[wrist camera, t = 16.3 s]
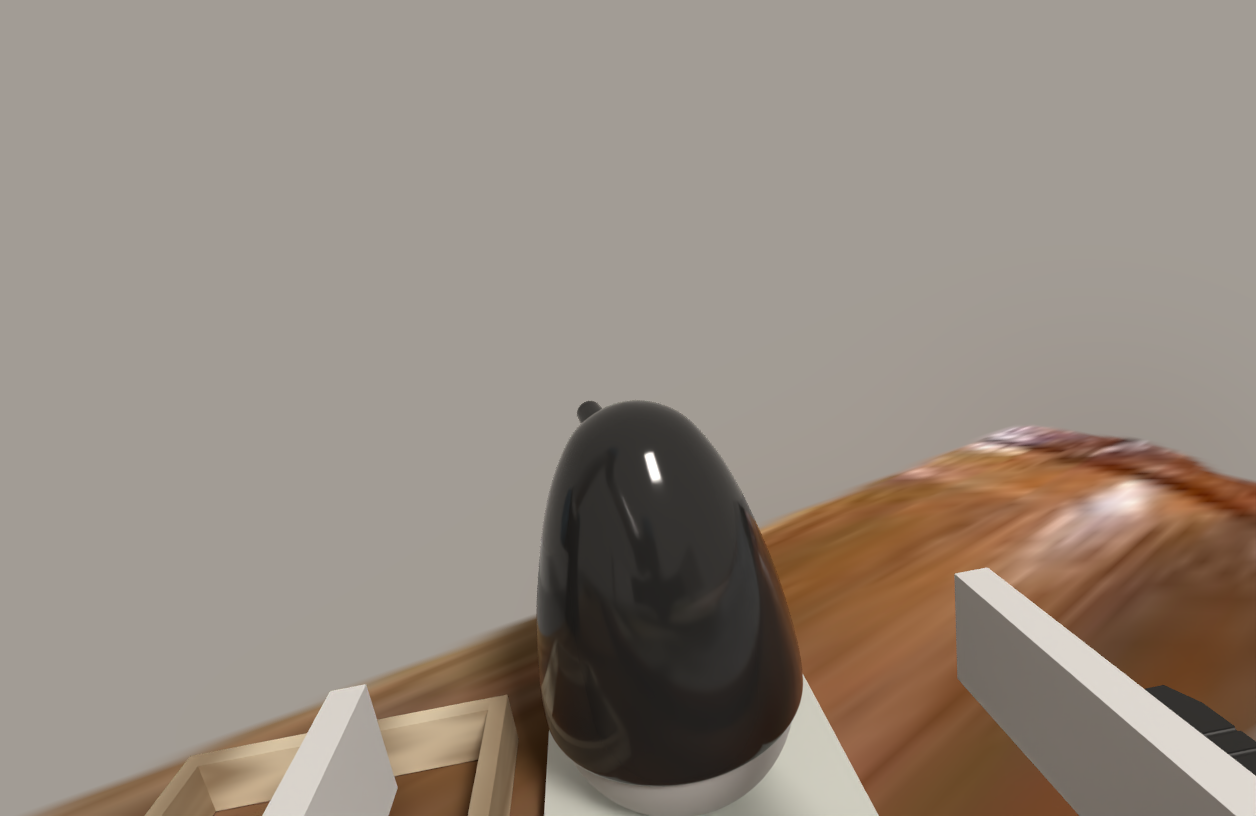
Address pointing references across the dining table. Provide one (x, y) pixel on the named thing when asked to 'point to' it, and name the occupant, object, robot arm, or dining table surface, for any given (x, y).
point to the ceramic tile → (775, 808)
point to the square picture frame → (409, 747)
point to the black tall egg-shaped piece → (660, 617)
